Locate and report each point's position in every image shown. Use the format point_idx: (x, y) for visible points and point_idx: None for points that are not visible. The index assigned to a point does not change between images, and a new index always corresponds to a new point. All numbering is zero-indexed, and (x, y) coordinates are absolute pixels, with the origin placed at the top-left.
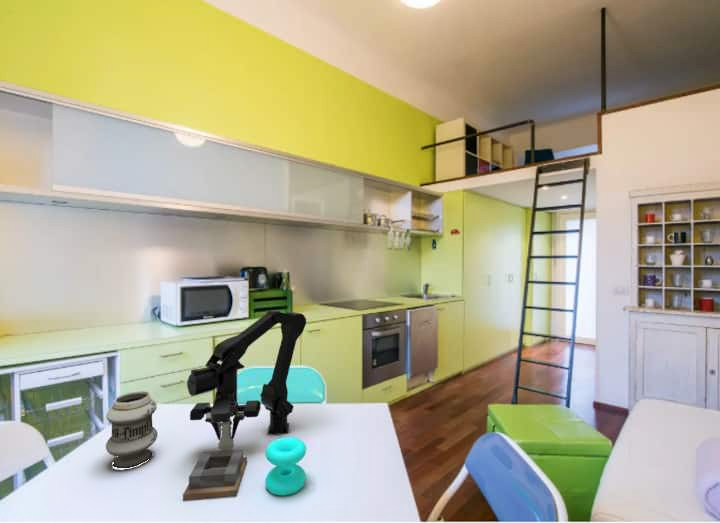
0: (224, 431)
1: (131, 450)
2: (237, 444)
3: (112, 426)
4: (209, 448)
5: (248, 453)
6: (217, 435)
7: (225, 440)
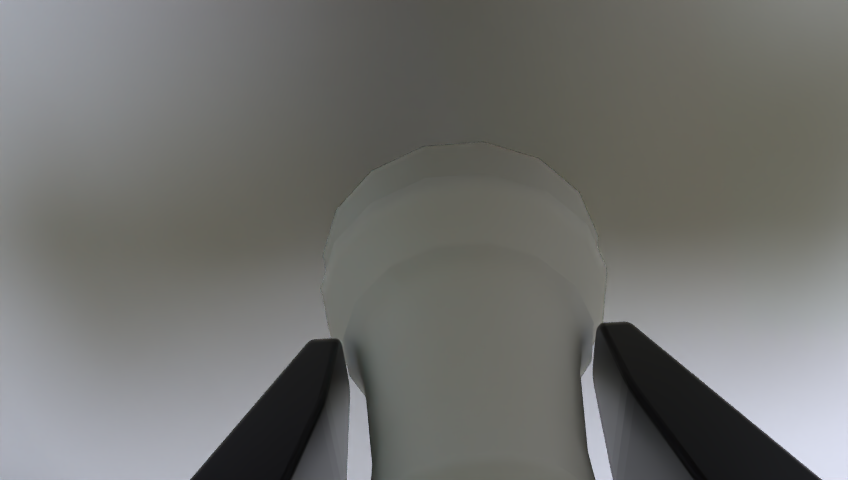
0: (509, 457)
1: None
2: None
3: None
4: (725, 308)
5: (81, 164)
6: (683, 384)
7: (457, 281)
